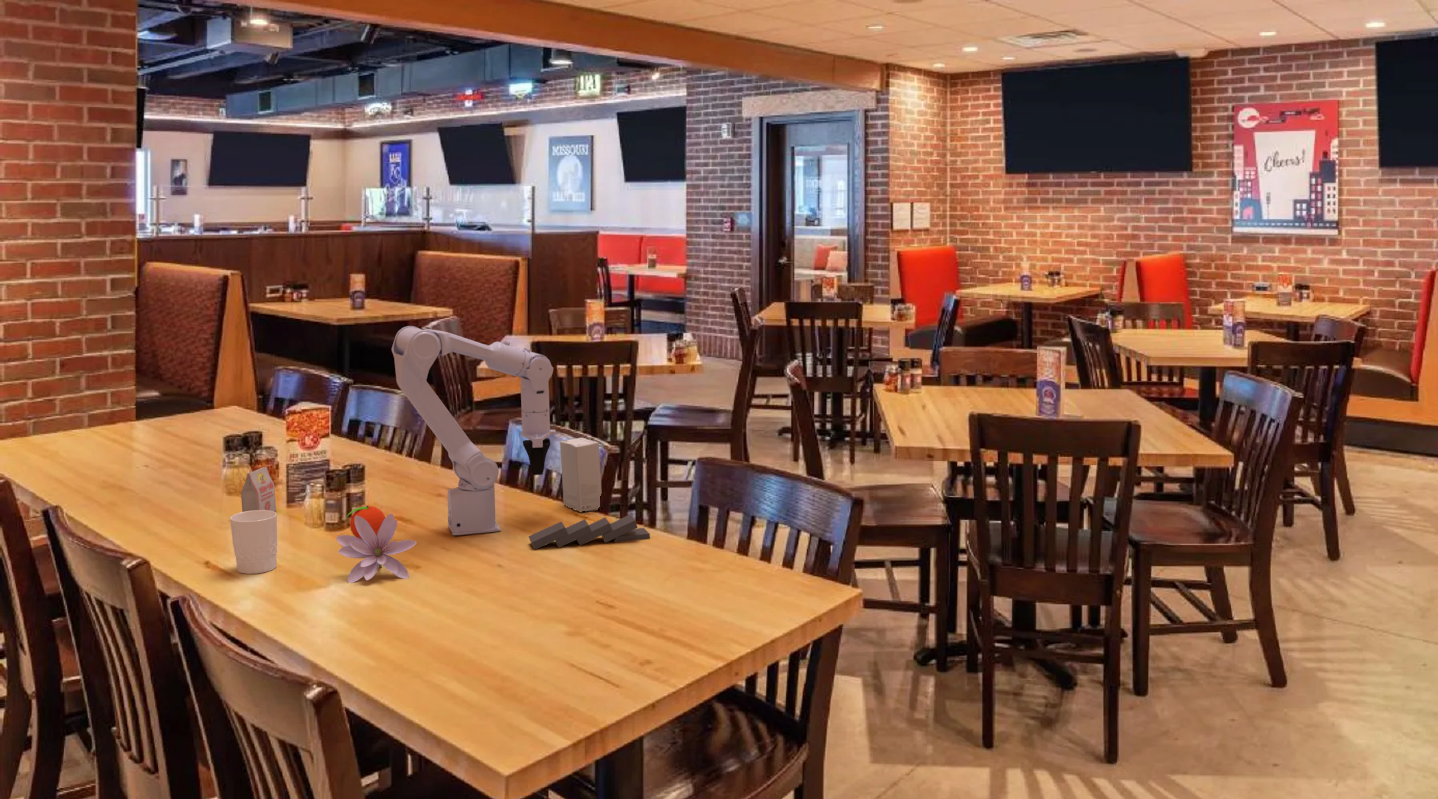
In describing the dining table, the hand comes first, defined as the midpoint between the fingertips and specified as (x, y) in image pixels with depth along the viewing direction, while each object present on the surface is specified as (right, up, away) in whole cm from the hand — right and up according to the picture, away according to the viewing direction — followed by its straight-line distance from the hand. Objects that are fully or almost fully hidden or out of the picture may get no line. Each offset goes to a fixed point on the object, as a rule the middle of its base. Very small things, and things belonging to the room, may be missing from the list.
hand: (537, 474), depth 246 cm
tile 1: (+2, -12, -18) cm, 22 cm away
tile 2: (+6, -12, -16) cm, 21 cm away
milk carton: (-60, -9, +4) cm, 61 cm away
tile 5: (+17, -12, -12) cm, 24 cm away
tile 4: (+15, -11, -14) cm, 23 cm away
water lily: (-24, -16, -35) cm, 45 cm away
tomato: (-32, -13, -14) cm, 37 cm away
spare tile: (+10, -12, -15) cm, 21 cm away
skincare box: (+8, -8, +11) cm, 16 cm away
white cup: (-47, -15, -31) cm, 58 cm away
